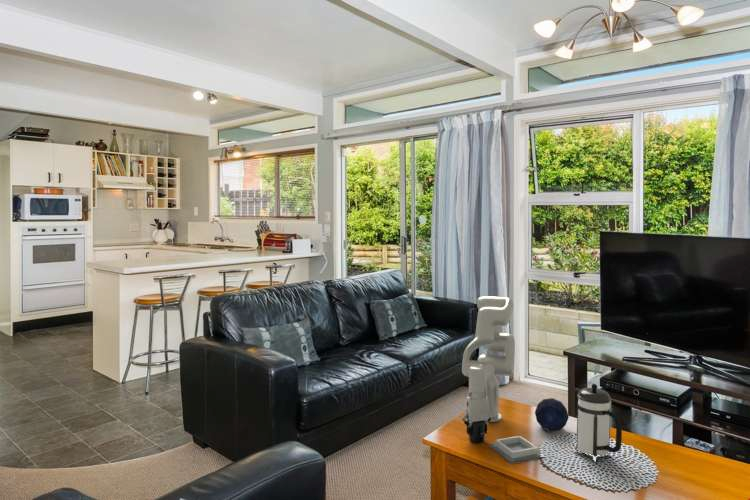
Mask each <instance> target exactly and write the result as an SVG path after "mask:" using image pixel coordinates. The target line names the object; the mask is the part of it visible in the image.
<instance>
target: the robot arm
mask: <svg viewBox="0 0 750 500" xmlns="http://www.w3.org/2000/svg"><path fill="white" fill-rule="evenodd" d="M476 302H477V303H476V305H477V306H476V307H477V310H478V312H477V318H476V326H475V327H476V328H475V335H474V339H473V340H471V341H470V342H469V343H468V344H467V345H466V347H465V349H464V351H463V356H462V364H461V373H462V374H463V375H464V377H468V390H467V391H468V392H466V397H467V398H466V403H465V413H464V414H462V416H460V421H462V422H463V424H465V426H466V434H467V435H468V436H469V435H470V436H472V427H471V425H472V423H473V422H478V421H484V422H485V434H488V425H489V423H496V422H499V421H501V420H502V418H503V417H502V414H501V413H499V407H500V406H499V403H500V402H499V397H500V395H499V389H500V383H499V380H498V378H497V376H503V377H504V376H506V377H510V376H512V375H513V374H514V371H515V357H516V356H515V355H516V341H515V336H514V335H513V334H510V333H508V332H501V327H506V326H508V325H509V324H510V321H511V317H512V313H513V310H514V301H513V299H512V298H511V297H508V296H507V297H506V296H492V295H491V296H490V295H487V296H486V295H483V296H479V297H478V298H477V301H476ZM481 347H482V349H483V350H484V351H488V352H494V353H502V354H504V355H500V354H492V353H483V354H480V355H479V356H478V358H477V360H472V359H470V358H471V355H472V354H473V352H474V351H475V350H477V349H479V348H481ZM496 375H497V376H496Z"/></svg>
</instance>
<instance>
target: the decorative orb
mask: <svg viewBox="0 0 750 500" xmlns="http://www.w3.org/2000/svg"><path fill="white" fill-rule="evenodd" d="M565 406H566V405H564V404H563V402H562V401H560V400H558V399H556V398H553V397H552V398H544V399H542V400H541V401H539V403H538V404H537V406H536V408H535V410H534V414H535V418H536V422H537V423H538V425H539V426H540V427H541V428H542V429H544V430H546V431H549V432H560V431H561V430H562V429H563V428H564V427H565V426H566V425H567V423H568V420H569V418H570V417H569V412H568V410H567V407H565Z"/></svg>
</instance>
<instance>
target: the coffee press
mask: <svg viewBox="0 0 750 500" xmlns="http://www.w3.org/2000/svg"><path fill="white" fill-rule="evenodd" d="M577 399H578V401H577V411H576V412H577V413H576V414H577V417H576V419H577V420H576V446H575V447H576V449H578V450H580V451H582V452H585V453H587V454H591V455H594V456H597V455H600V456H602V455H606V454H608V455H609V453H610V452H611V453H617V452H619V451H620V450H621V448H622V439H623V438H622V435H623V434H622V432H623V428H622V421H621V419H620V416H619V415H617V413H616V412H614V411H611V403H612V397H611V396H610V394H609V393H608V391H605V390H604V389H602V388H598V385H597V384H596V383H592V384H591V386H590V387H584V388H581V389H580V390H579V392H578V393H577ZM611 418H612V419H613V420H614V423H615V428H616V429H615V446H613V447H612V446H611V445H610V443H611V442H610V441H611V440H610V439H611ZM582 452H581V453H582ZM606 456H607V455H606Z"/></svg>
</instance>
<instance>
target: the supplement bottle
mask: <svg viewBox="0 0 750 500" xmlns="http://www.w3.org/2000/svg"><path fill="white" fill-rule="evenodd" d="M471 427H472V436H470V435H468V440H469V442H471V443H473V444H483V443H485V440H486V439H485V437H486V435H485V422H484V421H478V422H473V423H472V425H471Z"/></svg>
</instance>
